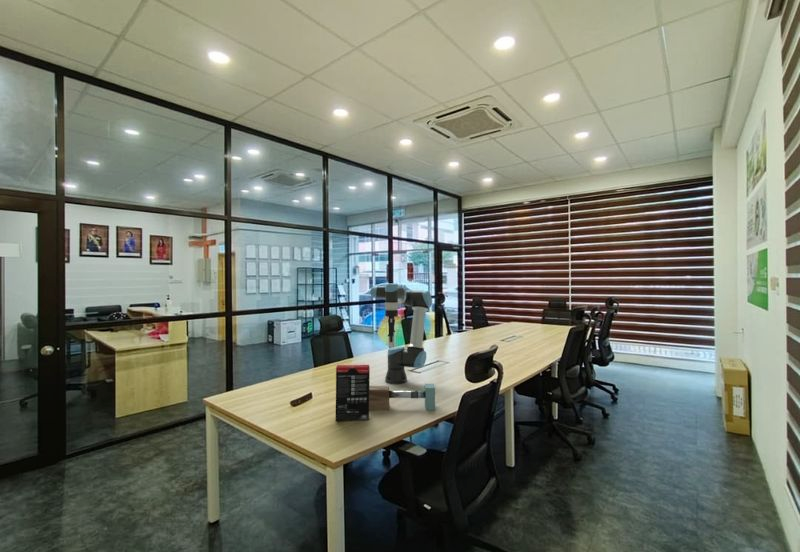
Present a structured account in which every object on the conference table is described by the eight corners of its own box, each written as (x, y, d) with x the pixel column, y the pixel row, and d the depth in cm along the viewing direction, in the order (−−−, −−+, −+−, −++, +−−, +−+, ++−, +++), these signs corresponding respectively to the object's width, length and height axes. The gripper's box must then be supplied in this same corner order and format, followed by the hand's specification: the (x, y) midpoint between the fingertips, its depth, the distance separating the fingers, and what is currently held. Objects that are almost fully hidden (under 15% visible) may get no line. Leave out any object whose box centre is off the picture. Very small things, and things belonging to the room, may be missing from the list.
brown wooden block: (368, 405, 205) (368, 385, 205) (389, 405, 205) (389, 385, 205) (366, 409, 198) (366, 389, 198) (388, 409, 198) (388, 389, 198)
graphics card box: (369, 415, 190) (369, 363, 190) (369, 420, 183) (369, 366, 183) (336, 416, 188) (336, 364, 188) (335, 422, 181) (335, 367, 181)
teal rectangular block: (424, 404, 205) (424, 383, 205) (433, 404, 205) (433, 383, 205) (425, 410, 197) (425, 387, 197) (435, 410, 197) (434, 387, 197)
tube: (385, 399, 199) (385, 391, 199) (385, 396, 203) (385, 389, 203) (432, 399, 199) (432, 391, 199) (432, 396, 203) (432, 389, 203)
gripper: (386, 307, 228) (386, 341, 228) (384, 311, 203) (384, 349, 203) (398, 307, 228) (398, 341, 228) (397, 311, 203) (397, 349, 203)
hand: (391, 345), depth 215 cm, fingers open, 13 cm apart
